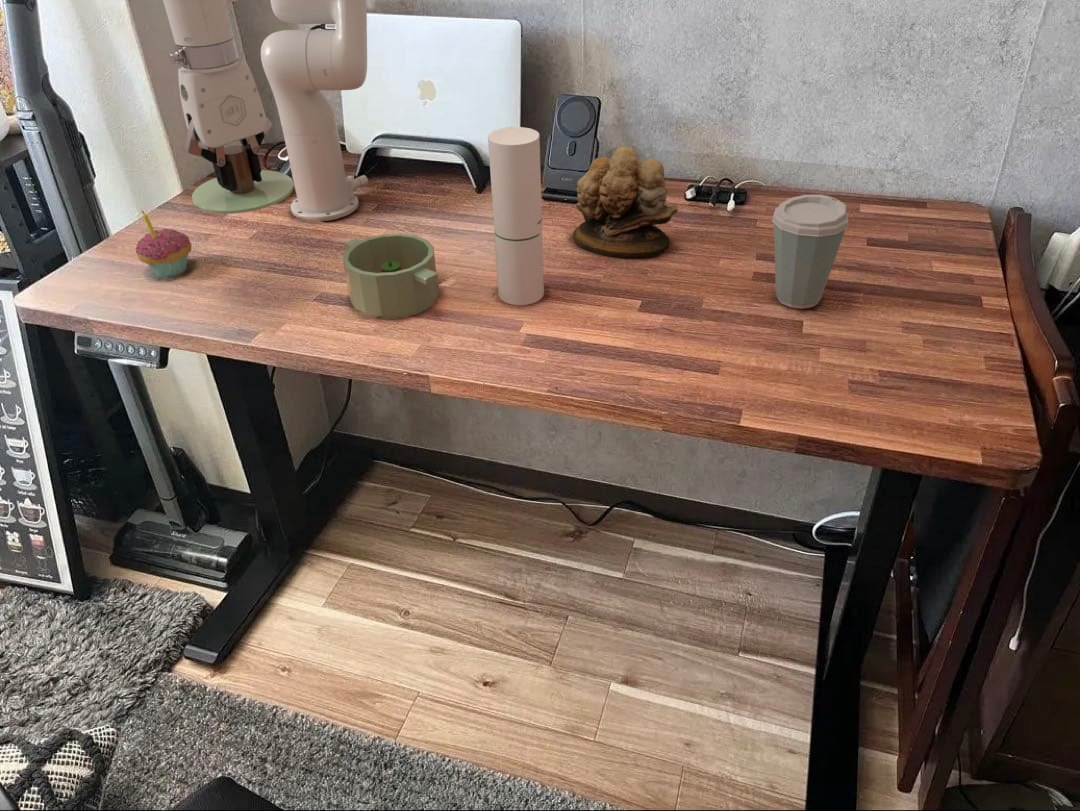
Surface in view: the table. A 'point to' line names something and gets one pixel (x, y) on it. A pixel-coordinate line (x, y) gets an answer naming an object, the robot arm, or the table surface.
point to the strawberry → (390, 267)
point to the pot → (391, 275)
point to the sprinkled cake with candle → (164, 250)
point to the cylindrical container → (517, 213)
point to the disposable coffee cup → (806, 247)
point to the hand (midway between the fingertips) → (241, 183)
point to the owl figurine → (623, 206)
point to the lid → (242, 187)
